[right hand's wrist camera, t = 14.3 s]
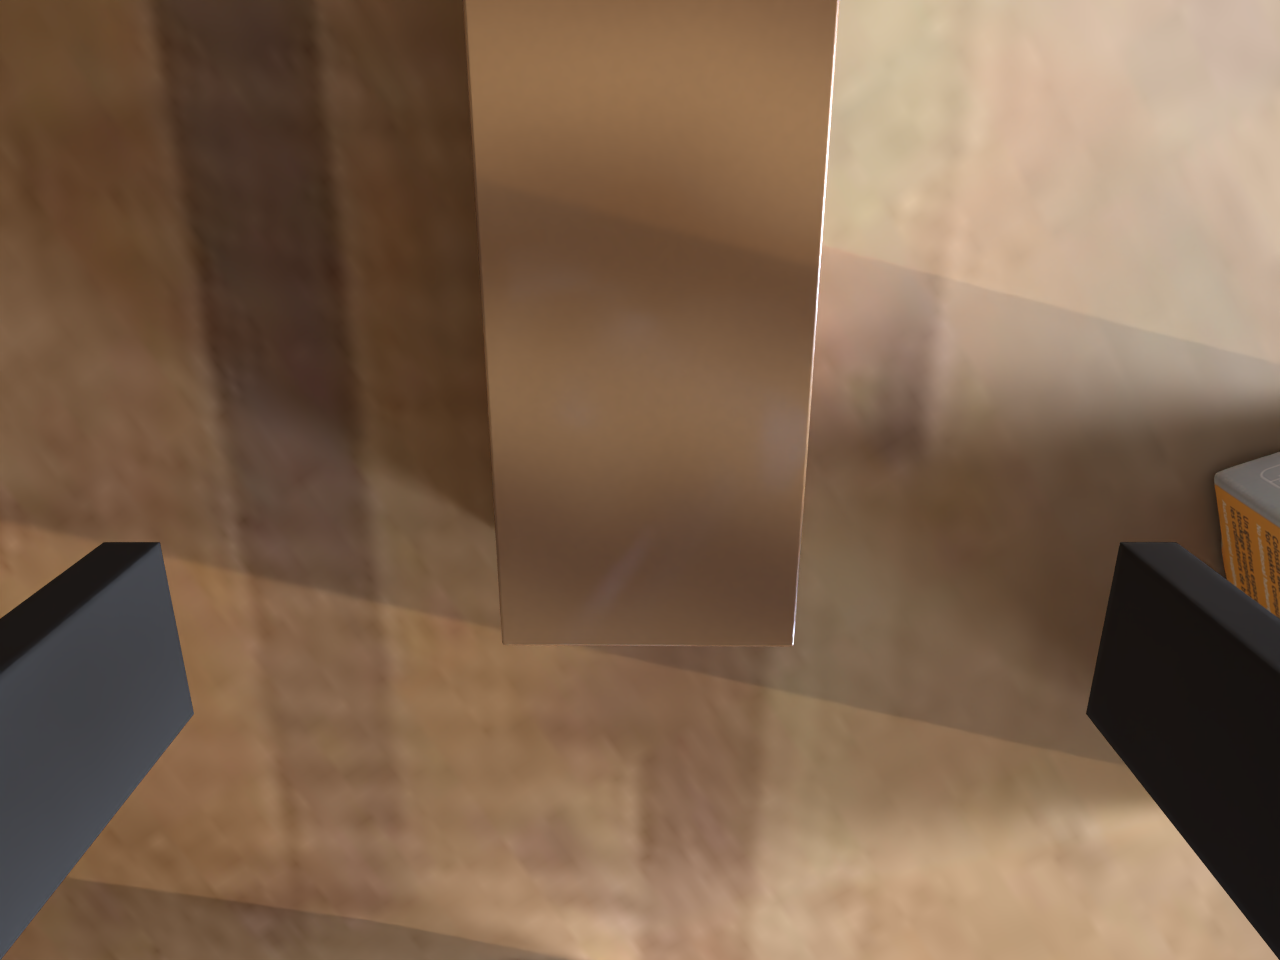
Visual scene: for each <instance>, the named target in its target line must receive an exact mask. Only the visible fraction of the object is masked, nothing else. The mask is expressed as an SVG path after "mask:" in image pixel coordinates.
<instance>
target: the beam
mask: <svg viewBox="0 0 1280 960" xmlns="http://www.w3.org/2000/svg"><path fill="white" fill-rule="evenodd" d="M463 10H464V27H465V43H466V59H467V76H468V92H469V108H470V125H471V141H472V157H473V174H474V190H475V206H476V223H477V239H478V255H479V272H480V288H481V304H482V321H483V337H484V353H485V370H486V386H487V403H488V419H489V435H490V452H491V468H492V484H493V501H494V517H495V533H496V550H497V566H498V582H499V599H500V615H501V631H502V643H503V644H504V645H605V646H793V644H794V636H795V622H796V608H797V594H798V580H799V566H800V552H801V537H802V523H803V509H804V495H805V481H806V467H807V453H808V438H809V424H810V410H811V396H812V382H813V368H814V354H815V339H816V325H817V311H818V297H819V283H820V269H821V255H822V241H823V226H824V212H825V198H826V184H827V170H828V156H829V142H830V127H831V113H832V99H833V85H834V71H835V57H836V43H837V28H838V14H839V0H463Z"/></svg>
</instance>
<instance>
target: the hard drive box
mask: <svg viewBox="0 0 1280 960" xmlns="http://www.w3.org/2000/svg"><path fill="white" fill-rule="evenodd" d="M1214 484H1215V492H1216V497H1217V505H1218V512H1219V519H1220V527H1221V534H1222V543H1221V550H1222V556H1223V562H1224V568H1225V574H1226V578H1227V580H1228V581H1229V582H1231V583H1232V584H1233V585H1235V586H1236V587H1237V588H1239V589H1240V590H1241V591H1243V592H1244V593H1245V594H1247V595H1248V596H1249V597H1251V598H1252V599H1254V600H1255V601H1256V602H1258V603H1259V604H1260V605H1262V606H1263V607H1264V608H1266V609H1267V610H1268V611H1270V612H1271V613H1272V614H1274V615H1275V616H1277V617H1278V618H1279V619H1280V452H1277V453H1274V454H1271V455H1268V456H1264V457H1261V458H1258V459H1255V460H1252V461H1249V462H1246V463H1243V464H1239V465H1236V466H1233V467H1230V468H1227V469H1225V470H1222V471H1220V472H1217V473H1216V474H1215V476H1214Z"/></svg>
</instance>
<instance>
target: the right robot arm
mask: <svg viewBox="0 0 1280 960" xmlns="http://www.w3.org/2000/svg"><path fill="white" fill-rule="evenodd" d="M193 714H194V712H193V707H192V702H191V697H190V692H189V687H188V682H187V677H186V672H185V667H184V662H183V657H182V651H181V646H180V641H179V636H178V631H177V626H176V621H175V616H174V611H173V606H172V601H171V596H170V591H169V586H168V581H167V576H166V571H165V566H164V561H163V556H162V551H161V546H160V542H104V543H102V544H101V545H100V546H98V547H97V548H95V549H94V550H93V551H91V552H90V553H89V554H87V555H86V556H85V557H83V558H82V559H81V560H79V561H78V562H77V563H75V564H74V565H72V566H71V567H70V568H68V569H67V570H66V571H64V572H63V573H62V574H60V575H59V576H58V577H56V578H55V579H54V580H52V581H51V582H49V583H48V584H47V585H45V586H44V587H43V588H41V589H40V590H39V591H37V592H36V593H35V594H33V595H32V596H31V597H29V598H28V599H26V600H25V601H24V602H22V603H21V604H20V605H18V606H17V607H16V608H14V609H13V610H12V611H10V612H9V613H8V614H6V615H5V616H3V617H2V618H1V619H0V960H1V959H2V957H3V956H4V955H5V954H6V952H7V951H8V950H9V949H10V947H11V946H12V945H13V943H14V942H15V941H16V940H17V938H18V937H19V936H20V935H21V933H22V932H23V931H24V929H25V928H26V927H27V926H28V924H29V923H30V922H31V921H32V919H33V918H34V917H35V915H36V914H37V913H38V912H39V910H40V909H41V908H42V907H43V905H44V904H45V903H46V901H47V900H48V899H49V898H50V896H51V895H52V894H53V893H54V891H55V890H56V889H57V887H58V886H59V885H60V884H61V882H62V881H63V880H64V879H65V877H66V876H67V875H68V873H69V872H70V871H71V870H72V868H73V867H74V866H75V865H76V863H77V862H78V861H79V859H80V858H81V857H82V856H83V854H84V853H85V852H86V851H87V849H88V848H89V847H90V845H91V844H92V843H93V842H94V840H95V839H96V838H97V837H98V835H99V834H100V833H101V831H102V830H103V829H104V828H105V826H106V825H107V824H108V823H109V821H110V820H111V819H112V817H113V816H114V815H115V814H116V812H117V811H118V810H119V809H120V807H121V806H122V805H123V803H124V802H125V801H126V800H127V798H128V797H129V796H130V795H131V793H132V792H133V791H134V789H135V788H136V787H137V786H138V784H139V783H140V782H141V781H142V779H143V778H144V777H145V775H146V774H147V773H148V772H149V770H150V769H151V768H152V767H153V765H154V764H155V763H156V761H157V760H158V759H159V758H160V756H161V755H162V754H163V753H164V751H165V750H166V749H167V747H168V746H169V745H170V744H171V742H172V741H173V740H174V739H175V737H176V736H177V735H178V733H179V732H180V731H181V730H182V728H183V727H184V726H185V725H186V723H187V722H188V721H189V719H190V718H191V717H192V716H193ZM1086 714H1087V716H1088V717H1089V718H1090V719H1091V721H1092V722H1093V723H1094V725H1095V726H1096V727H1097V728H1098V730H1099V731H1100V732H1101V733H1102V735H1103V736H1104V737H1105V739H1106V740H1107V741H1108V742H1109V744H1110V745H1111V746H1112V747H1113V749H1114V750H1115V751H1116V753H1117V754H1118V755H1119V756H1120V758H1121V759H1122V760H1123V761H1124V763H1125V764H1126V765H1127V767H1128V768H1129V769H1130V770H1131V772H1132V773H1133V774H1134V775H1135V777H1136V778H1137V779H1138V781H1139V782H1140V783H1141V784H1142V786H1143V787H1144V788H1145V789H1146V791H1147V792H1148V793H1149V795H1150V796H1151V797H1152V798H1153V800H1154V801H1155V802H1156V803H1157V805H1158V806H1159V807H1160V809H1161V810H1162V811H1163V812H1164V814H1165V815H1166V816H1167V817H1168V819H1169V820H1170V821H1171V823H1172V824H1173V825H1174V826H1175V828H1176V829H1177V830H1178V831H1179V833H1180V834H1181V835H1182V837H1183V838H1184V839H1185V840H1186V842H1187V843H1188V844H1189V845H1190V847H1191V848H1192V849H1193V851H1194V852H1195V853H1196V854H1197V856H1198V857H1199V858H1200V859H1201V861H1202V862H1203V863H1204V865H1205V866H1206V867H1207V868H1208V870H1209V871H1210V872H1211V873H1212V875H1213V876H1214V877H1215V879H1216V880H1217V881H1218V882H1219V884H1220V885H1221V886H1222V887H1223V889H1224V890H1225V891H1226V893H1227V894H1228V895H1229V896H1230V898H1231V899H1232V900H1233V901H1234V903H1235V904H1236V905H1237V907H1238V908H1239V909H1240V910H1241V912H1242V913H1243V914H1244V915H1245V917H1246V918H1247V919H1248V921H1249V922H1250V923H1251V924H1252V926H1253V927H1254V928H1255V929H1256V931H1257V932H1258V933H1259V935H1260V936H1261V937H1262V938H1263V940H1264V941H1265V942H1266V943H1267V945H1268V946H1269V947H1270V949H1271V950H1272V951H1273V952H1274V954H1275V955H1276V956H1277V957H1278V959H1279V960H1280V619H1279V618H1278V617H1277V616H1275V615H1274V614H1272V613H1271V612H1270V611H1268V610H1267V609H1266V608H1264V607H1263V606H1262V605H1260V604H1259V603H1258V602H1256V601H1255V600H1254V599H1252V598H1251V597H1249V596H1248V595H1247V594H1245V593H1244V592H1243V591H1241V590H1240V589H1239V588H1237V587H1236V586H1235V585H1233V584H1232V583H1231V582H1229V581H1228V580H1226V579H1225V578H1224V577H1222V576H1221V575H1220V574H1218V573H1217V572H1216V571H1214V570H1213V569H1212V568H1210V567H1209V566H1208V565H1206V564H1205V563H1203V562H1202V561H1201V560H1199V559H1198V558H1197V557H1195V556H1194V555H1193V554H1191V553H1190V552H1189V551H1187V550H1186V549H1185V548H1183V547H1182V546H1180V545H1179V544H1178V543H1176V542H1120V546H1119V551H1118V556H1117V561H1116V566H1115V571H1114V576H1113V581H1112V586H1111V591H1110V596H1109V601H1108V606H1107V611H1106V616H1105V621H1104V626H1103V631H1102V636H1101V641H1100V646H1099V651H1098V657H1097V662H1096V667H1095V672H1094V677H1093V682H1092V687H1091V692H1090V697H1089V702H1088V707H1087V712H1086Z"/></svg>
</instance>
